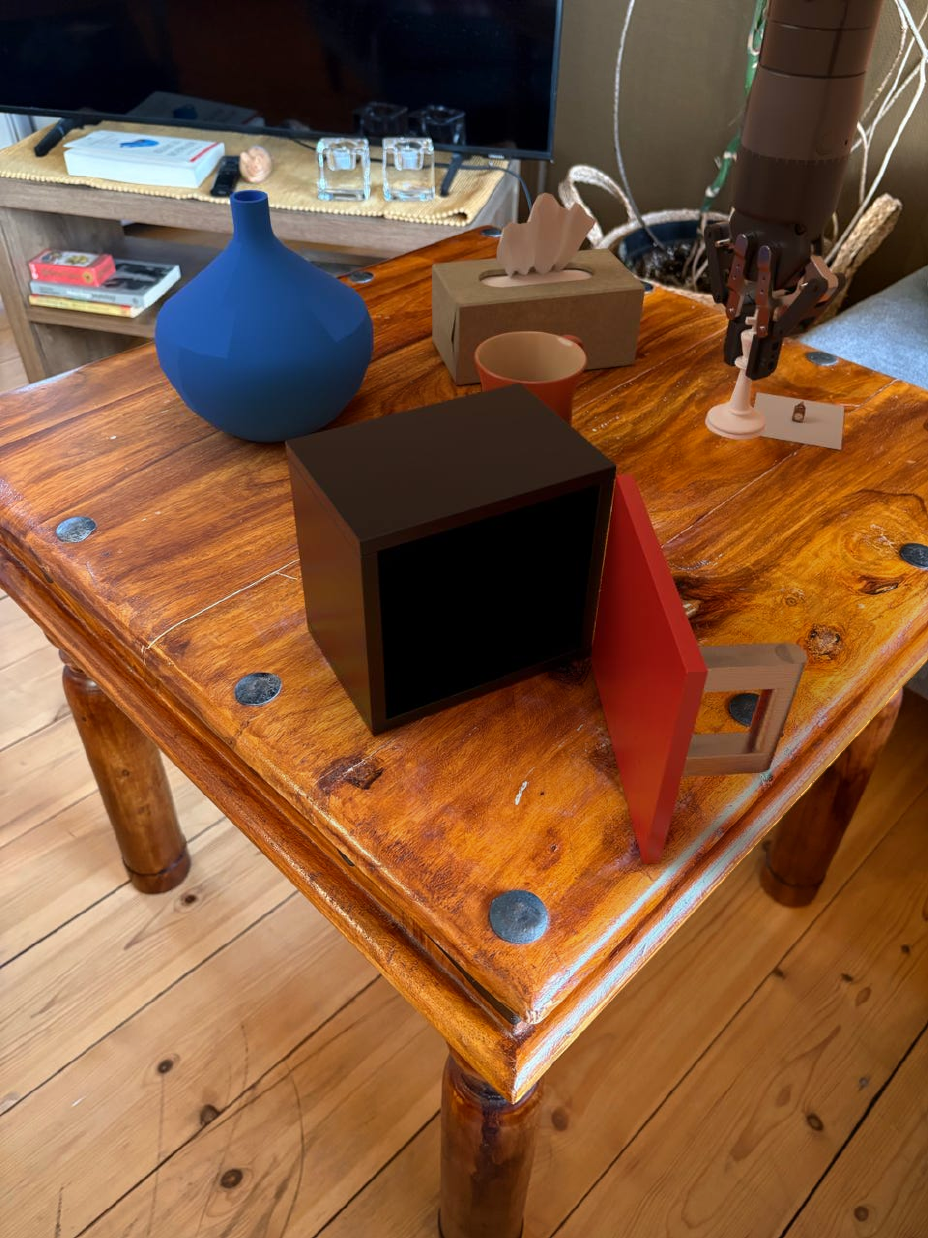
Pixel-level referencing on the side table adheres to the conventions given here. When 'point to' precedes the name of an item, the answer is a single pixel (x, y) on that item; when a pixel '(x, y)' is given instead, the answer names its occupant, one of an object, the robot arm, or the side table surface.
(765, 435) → the grey square plate
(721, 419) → the chess piece
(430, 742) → the side table surface
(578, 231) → the tissue box
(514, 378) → the mug
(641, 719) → the door
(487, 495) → the dark brown cabinet
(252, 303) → the vase
